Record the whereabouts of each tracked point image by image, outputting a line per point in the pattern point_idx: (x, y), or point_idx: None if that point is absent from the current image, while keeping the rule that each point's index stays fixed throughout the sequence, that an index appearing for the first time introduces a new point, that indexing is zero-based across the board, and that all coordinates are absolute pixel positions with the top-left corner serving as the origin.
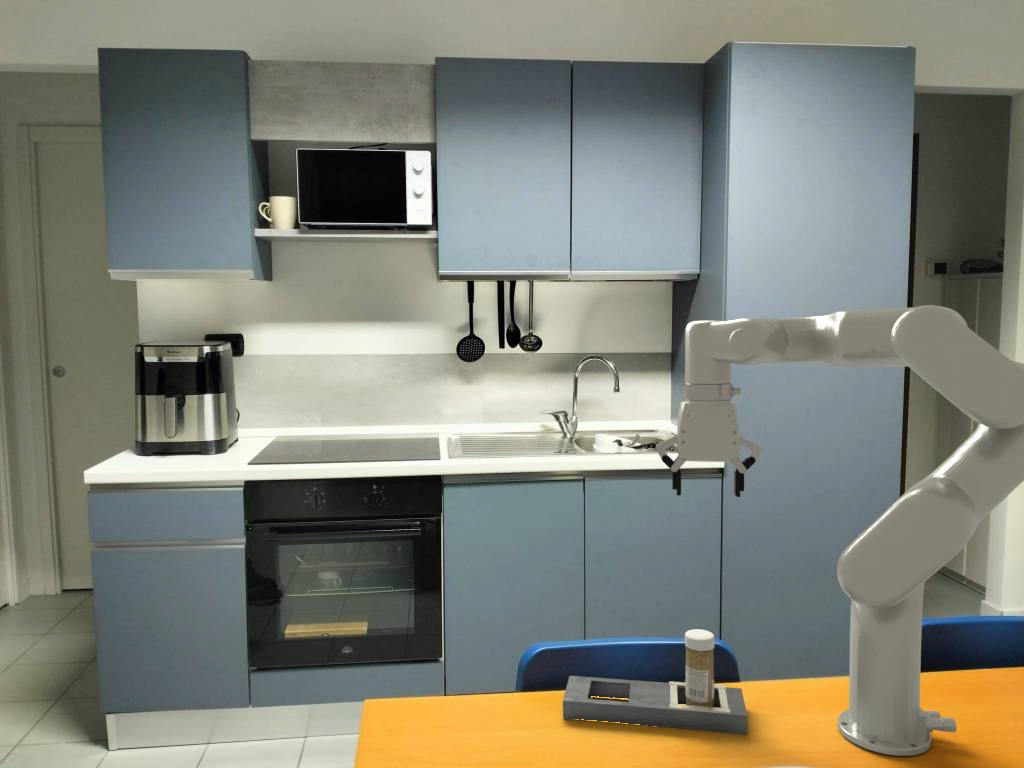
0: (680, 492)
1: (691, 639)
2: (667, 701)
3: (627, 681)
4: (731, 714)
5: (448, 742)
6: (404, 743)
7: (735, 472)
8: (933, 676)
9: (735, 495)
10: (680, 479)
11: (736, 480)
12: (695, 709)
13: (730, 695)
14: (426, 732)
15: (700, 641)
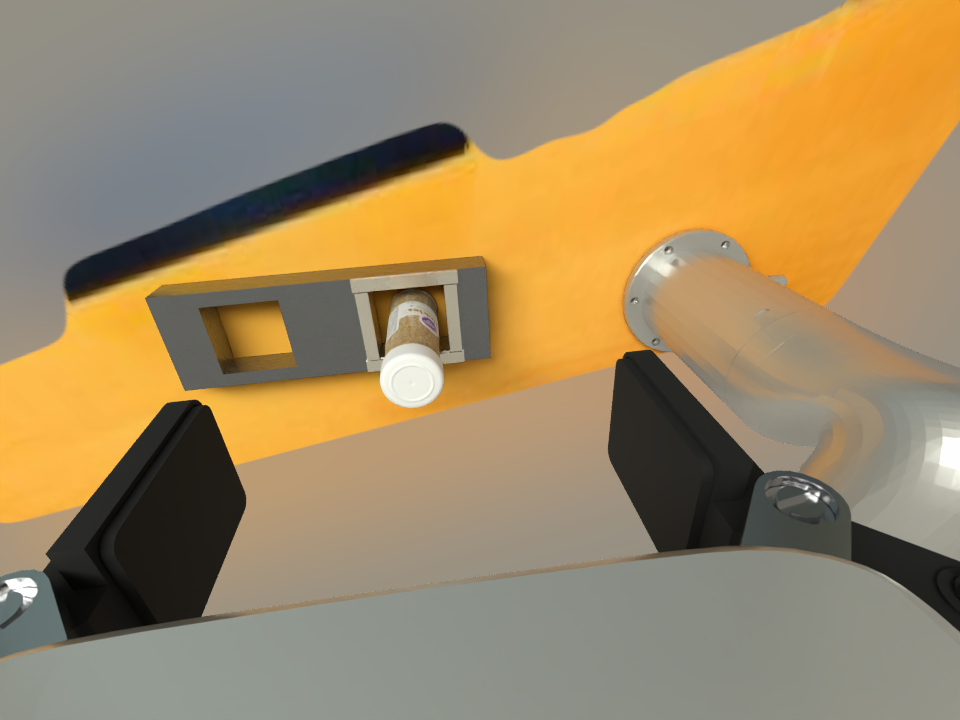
0: (238, 515)
1: (397, 404)
2: (360, 348)
3: (269, 293)
4: (466, 359)
5: (70, 470)
6: (12, 488)
7: (696, 522)
8: (896, 8)
9: (609, 440)
10: (200, 601)
11: (657, 540)
12: None
13: (465, 299)
14: (17, 459)
15: (416, 407)
